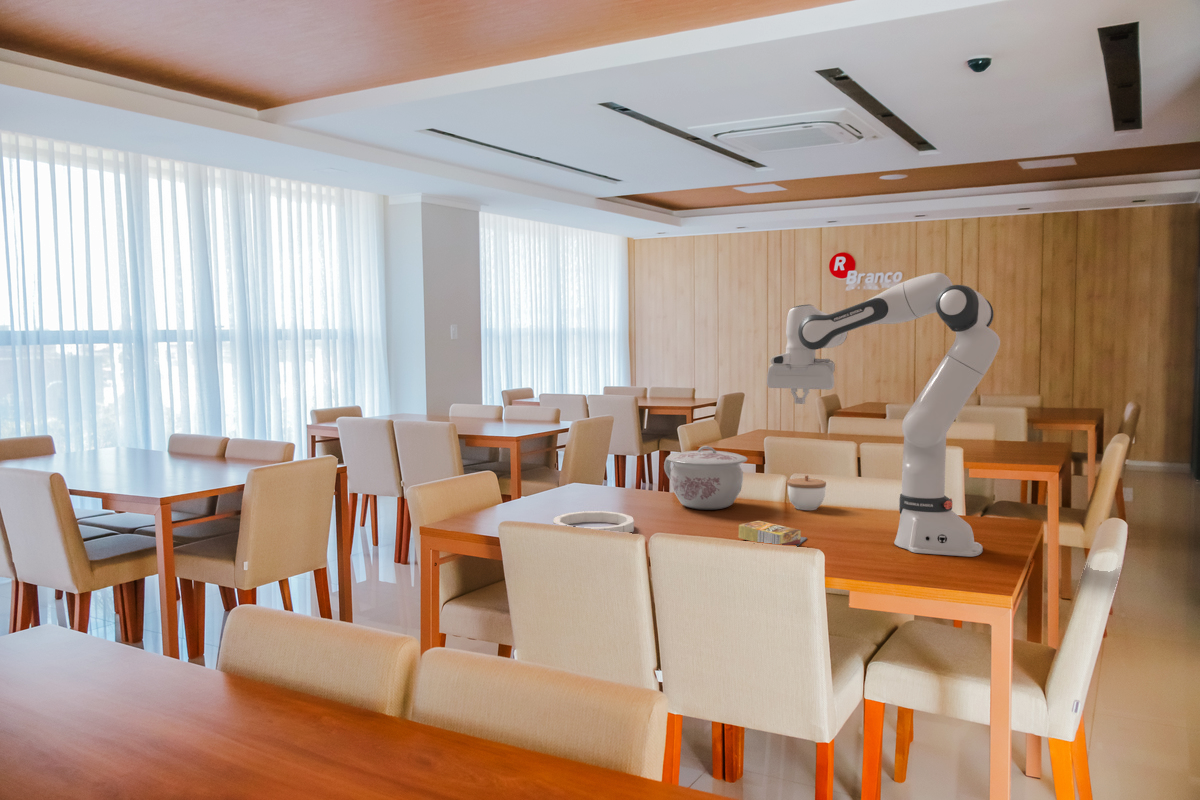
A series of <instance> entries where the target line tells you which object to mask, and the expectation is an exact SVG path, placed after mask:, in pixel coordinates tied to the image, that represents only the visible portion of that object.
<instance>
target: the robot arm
mask: <svg viewBox="0 0 1200 800" xmlns="http://www.w3.org/2000/svg"><path fill="white" fill-rule="evenodd" d="M934 313H937V315H938V316H939V318H940V319H941V320H942V322H944V324H945V325H946V326H948V328H949V329H950V330H951V331H952V332H955V339H954V342H953V344H952V345H951V347H950V348H949V349H948V351H947V352H946V354H945V355H944V357H943V358H942V359H941V362H940V363H939V364H938V366H937V367H936V369H935V371H934V372H933V374H932V375H931V376H930V378H929V380H928V381H927V383H926V385H925V386H924V388H922V390H921V392H920V393H919V395H918V397H917V398H916V399H915V401H914V402H913V403H912V405H911V407H910V408H909V410H908V411H907V413H906V414H905V416H904V418H903V420H902V424H901V430H902V435H903V451H902V464H901V465H902V466H901V467H902V470H901V473H902V474H901V493H900V494H899V501H898V503H899V504H898V509H899V510H898V511H899V514H900V516H899V522H898V529H897V533H896V536H895V538H894V539H895V540H894V542H893V543H894V545H895V546H896V547H899V548H902V549H905V550H908V551H909V552H911V553H915V554H927V555H928V554H929V555H942V556H956V557H972V558H973V557H977V556H979V555H981V554H982V553H983V551H984V550H983V548H984V547H983V544H980V542H977V541H975V538H974V537H975V536H974V532H973V529H972V526H971V525H970V524H969V523H968V522H967V521H966V520H964V519H963V518H962V517H960V516H959V514H957V513H956V512H954V511H953V498H952V497H948V496H946V495H945V493H946V492H945V490H946V484H945V483H946V455H947V454H946V453H947V452H946V451H947V433H948V431H949V430H950V428H951V427H952V425H953V424H954V422H955V420H956V419H957V418H958V415H959V414H960V412H961V411H962V410H963V408H964V406H965V405H966V404H967V402H968V400H969V399H970V397H971V396H972V394H973V392H975V389H976V388H977V387H978V386H979V384H980V382H981V381H982V379H983V378H984V377H985V375H986V374H987V372H988V370H989V369H990V367H991V366H992V364H993V361H994V359H995V357H996V355H997V354H998V351H999V348H1000V347H1001V338H1000V337H999V335H998V334H997V333H996V332H995V330H993V329H992V328H990V326H991V325H992V323H993V320H994V308H993V306H992V304H991V302H990V301H989V300H988V299H986V298H985V297H984V296H983V294H981V293H980V292H979V291H977V290H975V289H974V288H973V289H972V288H971V287H970V286H967V285H964V284H953V282H952V281H951V279H950V278H949V276H947V275H946V274H945V273H942V272H931V273H927V274H923V275H920V276H915V277H913V278H910V279H908V280H905V281H902V282H900V283H898V284H895V285H893V286H892V287H891V286H890V287H889V288H888V289H886V290H884V291H882V292H880V293H878V294H876V295H875V296H873V297H871V298H869V299H867V300H865V301H863V302H860V303H858V304H855V305H853V306H850V307H847V308H845V309H842V310H839V311H836V312H833V313H830V314H829V313H826V312H824V311H822V310H820V309H818V308H817V307H816V306H814V305H812V304H801V305H796V306H793V307H791V308H790V309H789V310H788V313H787V317H786V327H785V336H786V340H787V342H786V345H785V353H781V354H778V355H775V356H772V357H771V358H770V360H769V361H770V362H769V363H770V365H769V367H768V370H767V373H766V385H767V388H769V389H790V393H791V395H792V397H793V398H794V399H793V400H794V402H793V403H794V404H796V405H797V404H802V405H804V404H806V399H807V397H808V395H809V393H810V390H826V391H827V390H832V389H834V387H835V375H834V373H835V367H836V366H835V365H836V363H835V362H834V361H833V360H830V359H831V358H816V350H819V349H830V348H836V347H838V346H841V345H842V344H844V343H845V341H846V340H847V337H848V333H849V332H850V331H853V330H856V329H859V328H861V327H864V326H870V325H880V324H882V325H891V324H892V325H895V324H901V323H906V322H907V323H908V322H910V321H913V320H917V319H920V318H922V317H924V316H928V315H930V314H934ZM801 389H802V393H803V395H802V397H799V396H798V394H797V392H798V390H801Z"/></svg>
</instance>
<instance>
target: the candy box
mask: <svg viewBox="0 0 1200 800" xmlns="http://www.w3.org/2000/svg"><path fill="white" fill-rule="evenodd" d="M801 531H802V530H801V529H797V528H794V527H788V526H785V525H784V526H783V525H780V524H776V523H771V522H768V521H767V522H766V521H761V520H755V521H750V522H746V523H741V524H738V538H739V539H741V540H746V541H747V540H749V541H755V542H764V543H772V544H782V545H796V544H800V540H801V537H802V536H801V534H802V532H801ZM800 545H801V544H800Z"/></svg>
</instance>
